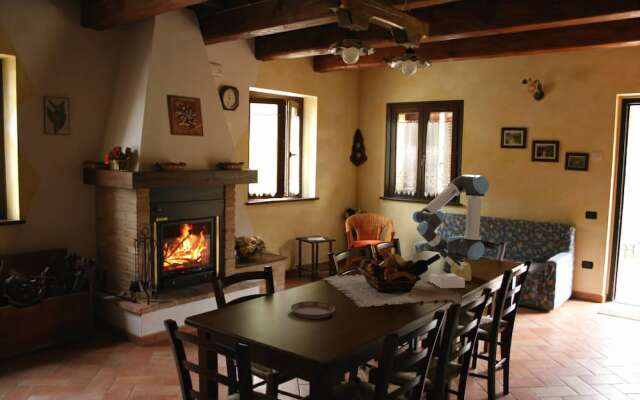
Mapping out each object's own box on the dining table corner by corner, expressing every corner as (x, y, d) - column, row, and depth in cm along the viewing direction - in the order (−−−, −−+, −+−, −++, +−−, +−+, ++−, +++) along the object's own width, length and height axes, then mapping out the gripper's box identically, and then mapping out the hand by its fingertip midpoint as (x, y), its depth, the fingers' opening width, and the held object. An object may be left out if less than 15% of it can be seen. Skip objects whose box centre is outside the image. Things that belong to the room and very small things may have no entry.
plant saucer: (319, 323, 236) (319, 316, 236) (281, 315, 247) (281, 308, 247) (342, 312, 254) (342, 305, 254) (306, 305, 265) (306, 298, 264)
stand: (452, 281, 325) (453, 273, 324) (464, 287, 310) (465, 279, 310) (429, 282, 321) (430, 274, 321) (440, 288, 307) (441, 279, 306)
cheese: (471, 281, 328) (472, 265, 327) (453, 280, 328) (454, 264, 327) (467, 277, 338) (467, 261, 337) (450, 276, 338) (450, 261, 337)
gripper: (423, 243, 339) (444, 266, 343) (440, 250, 314) (462, 275, 319) (431, 235, 339) (452, 258, 344) (449, 241, 315) (471, 266, 320)
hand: (457, 266), depth 331 cm, fingers open, 13 cm apart
